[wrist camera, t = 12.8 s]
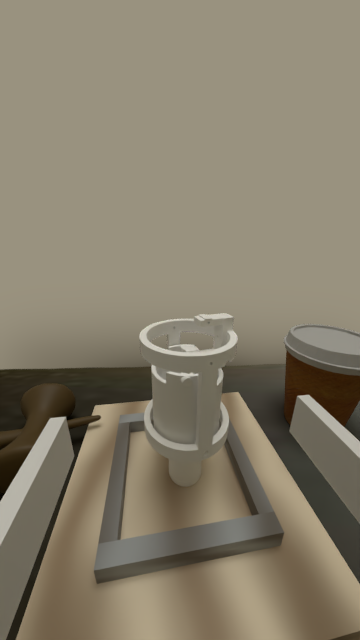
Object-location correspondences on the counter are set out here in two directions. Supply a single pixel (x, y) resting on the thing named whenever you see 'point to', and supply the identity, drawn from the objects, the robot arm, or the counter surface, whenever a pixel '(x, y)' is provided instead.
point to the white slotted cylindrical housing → (187, 393)
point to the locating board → (188, 545)
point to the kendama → (35, 426)
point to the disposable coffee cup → (323, 369)
